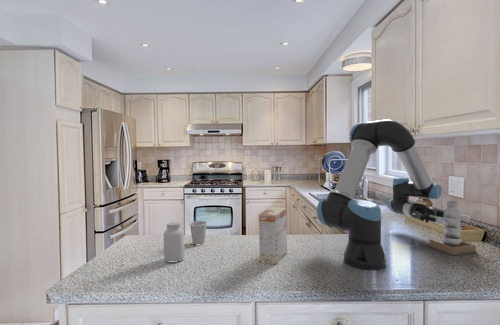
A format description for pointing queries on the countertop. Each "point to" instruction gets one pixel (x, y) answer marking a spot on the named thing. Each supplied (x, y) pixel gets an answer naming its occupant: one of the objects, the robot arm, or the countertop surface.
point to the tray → (454, 248)
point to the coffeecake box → (272, 234)
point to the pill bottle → (173, 242)
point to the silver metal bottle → (452, 225)
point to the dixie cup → (198, 231)
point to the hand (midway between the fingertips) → (456, 220)
